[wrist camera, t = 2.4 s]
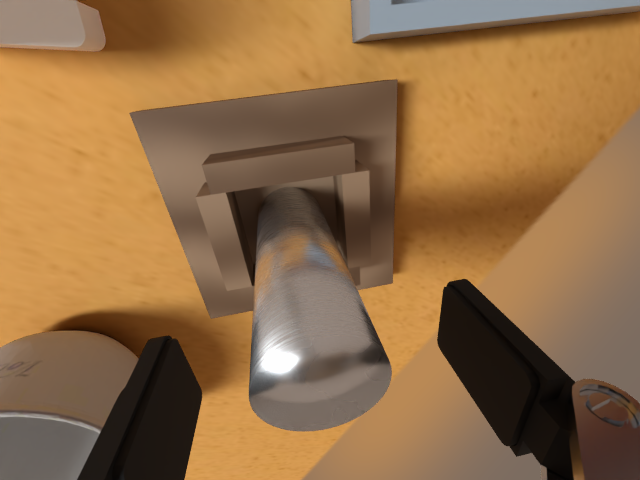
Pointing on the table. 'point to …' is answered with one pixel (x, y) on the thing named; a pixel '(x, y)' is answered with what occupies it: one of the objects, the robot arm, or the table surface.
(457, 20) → the tray
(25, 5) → the cable organizer
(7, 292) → the table surface
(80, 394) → the teacup
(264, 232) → the pin
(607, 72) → the table surface
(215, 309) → the brown square socket base
